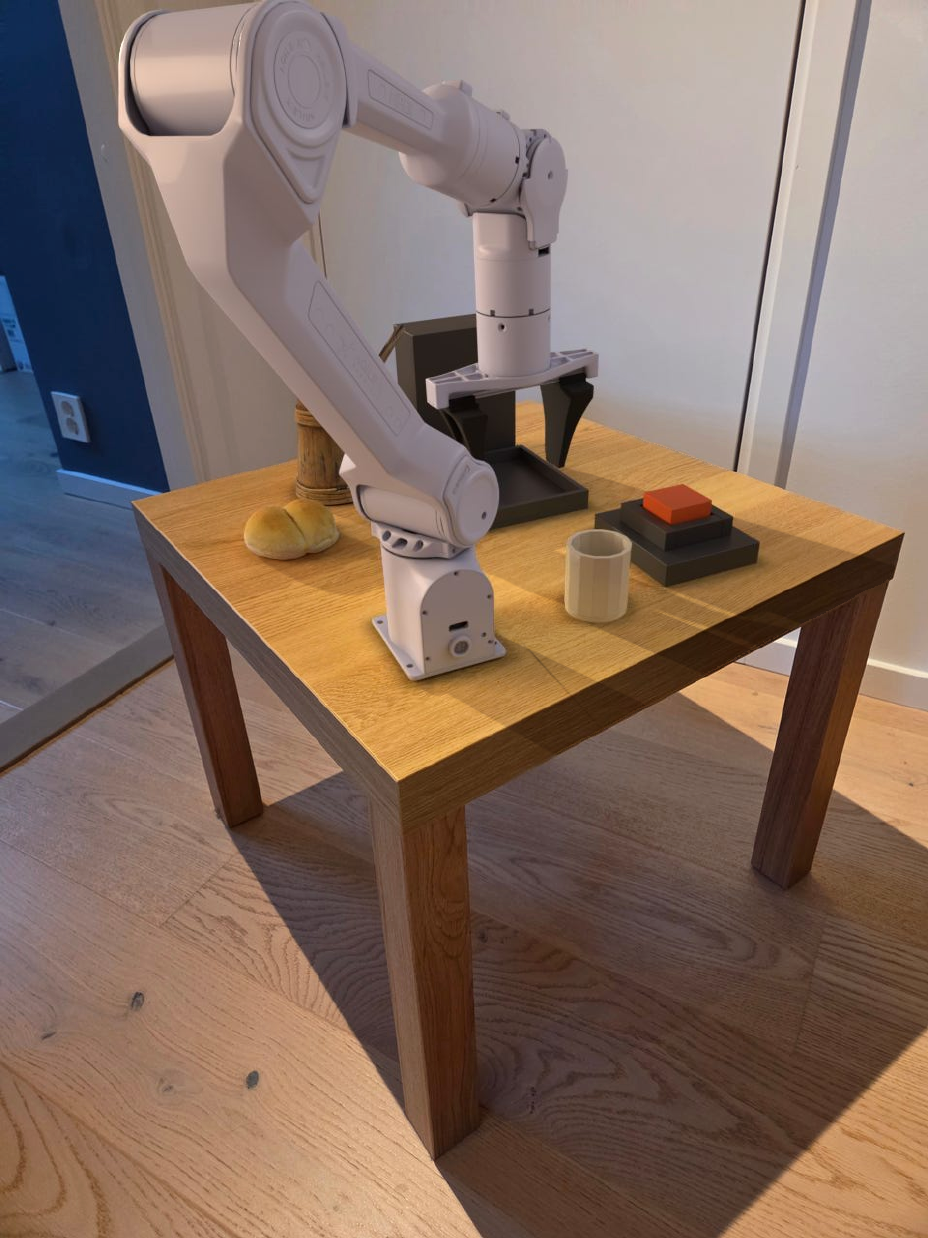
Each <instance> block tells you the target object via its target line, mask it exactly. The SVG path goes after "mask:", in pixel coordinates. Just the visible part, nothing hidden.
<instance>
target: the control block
mask: <svg viewBox="0 0 928 1238" xmlns="http://www.w3.org/2000/svg"><path fill="white" fill-rule="evenodd" d="M643 499H644V497H641V498H638V499H633V500H632V499H631V500H627V501H623V502H621V503H620V507H619V508H615V509H610V510H605V511H601V512H598V513H595V514H594V523H593V524H594V525H593V529H604V530H609V531H615V532H618V533H620V534H622V535H625V536H627V537H628V538H629V540H630V541H631V542H632V554H631V564H633V565H635V566H636V567H637V568H638V569H640V570H641V571H642V572H643V573H645V574H646V575H648V576H649V577H651V578H652V579H653V580H654V581H655V582H656V583H658V584H659V585H661V586H663V587H664V588H668V587H672V586H673V587H674V586H676V585H679V584H684V583H687V582H691V581H694V580H699V579H703V578H705V577H709V576H714V575H717V574H720V573H725V572H728V571H732V570H736V569H740V568H743V567H746V566H751V565H754V564H757V563H758V562H757V561H758V557H759V550H760V544H761V542H760V541H759V540H758V539H756V538H755V537H753V536H751V535H749V534H748V533H746V532H744V531H743V530H741V529H739V528H738V527H736V526H734V525H733V524H734V516H733V515H732V514H730V513H728V512H727V511H725V510H723V509H721V508H720V507H717V506H716V505H715V504H713V503H712V505H711V512H710V516H707V517H702V518H698V519H694V520H690V521H686V522H682V523H678V524H673V525H668V524H667V523H665V522H664V521H662V520H661V519H659V518H658V517H656V516H655V515H653V514H652V513H650V512H649V511H647V510H645V509H644V508H643Z"/></svg>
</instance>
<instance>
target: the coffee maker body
mask: <svg viewBox="0 0 928 1238" xmlns="http://www.w3.org/2000/svg"><path fill="white" fill-rule="evenodd" d="M401 324H403V326H404V328H405V330H404V332H403V333H402V335H401V337H400V339H399V340H398V342H397V344H396V345H395V347H394V352H395V365H396V377H397V378H396V381H397V383H398V384H399V386H400V387H401V389H402V390H403V392H404V393H405V395H406V396H407V398H408V399H409V401H410V402H411V404H412V405H413V406H414V408H415V409H416V411H417V412H418V414H419V415H420V417H421V418H422V420H423V421H424V422H425V423H426V424H428V425H429V426H431V427H432V428H434V429H436V430H438V431H439V432H441V433H443V434H445V435H446V436H448V437H450V438H452V439H453V440H455V439H454V437H453V435H452V433H451V431H450V429H449V427H448V425H447V424H446V422H445V420H444V418H443V417H442V415H441V413H440V412H439V410H438V409H436V408H435V407H433V406H432V405H430V404H429V403H428V401H427V388H426V379H427V378H431V377H436V376H440V375H443V374H446V373H449V372H452V371H455V370H458V369H461V368H464V367H467V366H469V365H472V364H475V363H478V343H477V319H476V313H469V314H461V315H453V316H446V317H439V318H431V319H425V320H423V319H422V320H416V321H409V322H400V323H394V324H393V325H392V326H393V330H394V329H395V328H397V327H398V326H399V325H401ZM516 391H517V390H515V391H510V392H505V393H500V394H495V395H490V396H485V397H481V398H476V403H479V410H481V411H482V412H484V413H485V414H487V415H488V416H489V417H488V422H487V427H486V434H485V445H484V452H485V451H490V450H495V449H501V448H506V447H511V446H516V443H517V442H516V440H517V436H516V435H517V433H516V432H517V427H516V426H517V425H516V424H517V423H516V421H517V419H516V418H517V414H516V411H517V410H516V407H517V406H516V402H517V401H516V399H517V397H516V396H517V395H516V394H517V392H516Z"/></svg>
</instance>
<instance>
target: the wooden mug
mask: <svg viewBox="0 0 928 1238" xmlns="http://www.w3.org/2000/svg"><path fill="white" fill-rule="evenodd" d="M400 324H401V323H400ZM404 330H405V328H404V326H403V324H401V325H399V326H398V327H397V328H395V329H394V328H393V331H392V333H391V335H390V336H389V338H388V340H387V341H386V342H385V344H384V345H383V347H382V349H381V350H380V352H379V353H378V355H379V357H380V358H381V360H382V361H383V363H384V364H385V365H386V363H387V360H388V359H389V357H390V356H391V353H392V352H393V351H394V350H395V345H396V344H397V342H398V340H399V339H400V337H401V335H402V333H403V332H404ZM296 399H297V403H296V404H295V406H294V421H295V422H296V423H297V425H296V426H297V475H296V477H295V495H296V497H297V499H311V500H316V501H318V502H320V503H322V504H323V505H324V506H332V505H343V504H348V503H349V504H350V503H354V502H353V498H352V494H351V491H350V488H349V486H348V485H347V483H346V482H345V480H344V479H343V478H342V477H341V476H340V474H339V471H340V468H341V464H342V461H343V457H344V455H345V452H344V451H343V450H342V449H341V448H340V447H339V445H338V444H337V443H336V442H335V441H334V440H333V438H332V437H331V436H330V435H329V434H328V433H327V431H326V430H325V429H324V428H323V427H322V426H321V424H320V423H319V422H318V421H317V420H316V419H315V417H314V416H313V415H312V414H311V413H310V412H309V410H308V409H307V408H306V407H305V406H304V405H303V403H302V402H301V401H300V400H299V399H298V398H297V397H296Z"/></svg>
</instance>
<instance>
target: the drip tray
mask: <svg viewBox="0 0 928 1238" xmlns="http://www.w3.org/2000/svg"><path fill="white" fill-rule="evenodd" d="M484 459H485V462H486V463H488V464H489V465H490V466H491V467H492V469H493V470H494V473H495V475H496V479H497V483H498V487H499V503H498V509H497V513H496V516H495V519H494V521H493V523H492V525H491V527H490V529H489V530H488V532H489V531H495V530H497V529H501V528H502V529H503V528H507V527H511V526H515V525H516V526H517V525H519V524H524V523H530V522H533V521H538V520H544V519H546V518H551V517H555V516H560V515H565V514H568V513H574V512H578V511H582V510H587V509H589V492H590V491H589V489H588V488H587V487H585V486H583V485H582V484H580V483H579V482H577V481H576V480H575V479H573V478H571V477H570V476H569V475H568V474H566V473H564V472H563V471H562V470H560V468H556V467H555V466H554V465H552V464H551V463H549V462H548V461H547V460H546V459H544V458H542V457H541V456H540V455H538V454H537V453H535V452H533V451H532V450H531V449H529V448H528V447H526V446H525V445H524V444H517V445H516V446H511V447H506V448H501V449H495V450H490V451H485V452H484Z"/></svg>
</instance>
